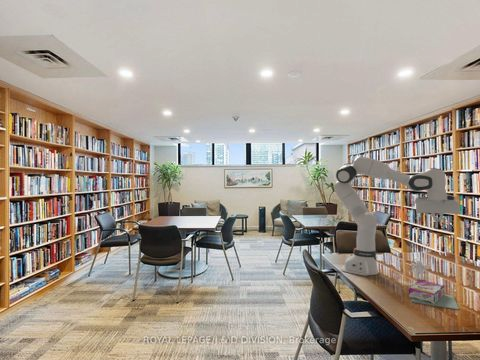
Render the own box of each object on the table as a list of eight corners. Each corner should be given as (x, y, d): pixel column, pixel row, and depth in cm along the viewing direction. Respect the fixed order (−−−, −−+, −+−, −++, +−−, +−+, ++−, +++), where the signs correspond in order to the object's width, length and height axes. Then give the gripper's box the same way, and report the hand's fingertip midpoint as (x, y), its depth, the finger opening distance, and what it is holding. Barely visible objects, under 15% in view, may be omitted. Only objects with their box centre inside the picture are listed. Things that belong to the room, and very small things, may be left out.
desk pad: (411, 301, 132) (411, 300, 132) (410, 290, 147) (410, 289, 147) (459, 310, 123) (459, 308, 123) (453, 296, 137) (453, 295, 137)
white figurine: (410, 278, 164) (410, 258, 165) (411, 277, 168) (410, 257, 168) (429, 281, 159) (428, 260, 160) (429, 279, 163) (428, 259, 163)
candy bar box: (444, 284, 139) (435, 293, 128) (444, 294, 139) (435, 304, 128) (419, 279, 147) (408, 287, 136) (419, 288, 147) (408, 297, 136)
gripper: (415, 197, 158) (415, 221, 158) (460, 197, 148) (461, 223, 148) (414, 196, 164) (415, 220, 163) (458, 196, 153) (459, 221, 153)
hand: (437, 221), depth 155 cm, fingers closed
